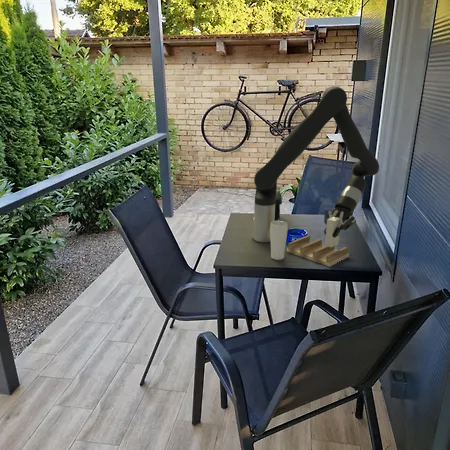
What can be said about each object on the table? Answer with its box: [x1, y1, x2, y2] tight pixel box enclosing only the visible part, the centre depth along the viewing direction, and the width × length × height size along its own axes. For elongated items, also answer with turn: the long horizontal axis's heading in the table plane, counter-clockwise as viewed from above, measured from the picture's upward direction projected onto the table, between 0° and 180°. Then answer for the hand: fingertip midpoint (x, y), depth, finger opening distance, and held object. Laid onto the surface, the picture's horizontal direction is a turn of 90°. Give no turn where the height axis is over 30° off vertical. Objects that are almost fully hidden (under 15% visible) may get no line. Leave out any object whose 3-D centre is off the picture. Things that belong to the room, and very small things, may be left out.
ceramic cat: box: [274, 189, 283, 221], centre depth 204 cm, size 20×6×20 cm, turn 179°
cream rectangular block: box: [324, 216, 340, 247], centre depth 156 cm, size 3×5×11 cm, turn 134°
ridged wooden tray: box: [286, 234, 349, 267], centre depth 164 cm, size 21×14×4 cm, turn 44°
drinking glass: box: [270, 220, 288, 261], centre depth 158 cm, size 7×7×15 cm
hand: (329, 235), depth 155 cm, fingers closed on cream rectangular block, 3 cm apart
